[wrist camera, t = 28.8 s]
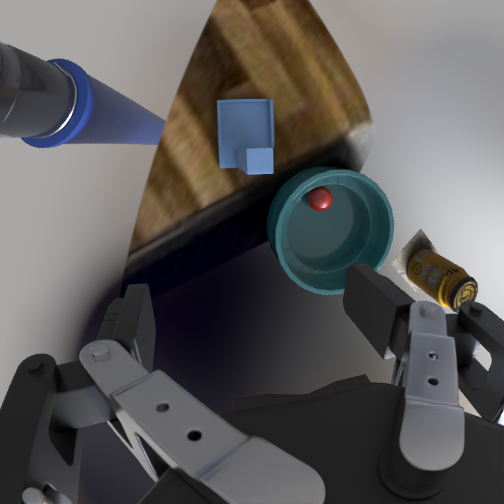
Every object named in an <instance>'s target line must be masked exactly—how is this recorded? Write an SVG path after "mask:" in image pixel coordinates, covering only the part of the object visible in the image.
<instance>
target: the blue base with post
mask: <svg viewBox="0 0 504 504" xmlns="http://www.w3.org/2000/svg"><path fill="white" fill-rule="evenodd" d="M217 122H218V147H219V168H239V169H240V170H242V171H243V172H245V173H246V174H272V173H273V166H274V162H273V147H275V143H274V112H273V100H272V99H234V100H217Z"/></svg>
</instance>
